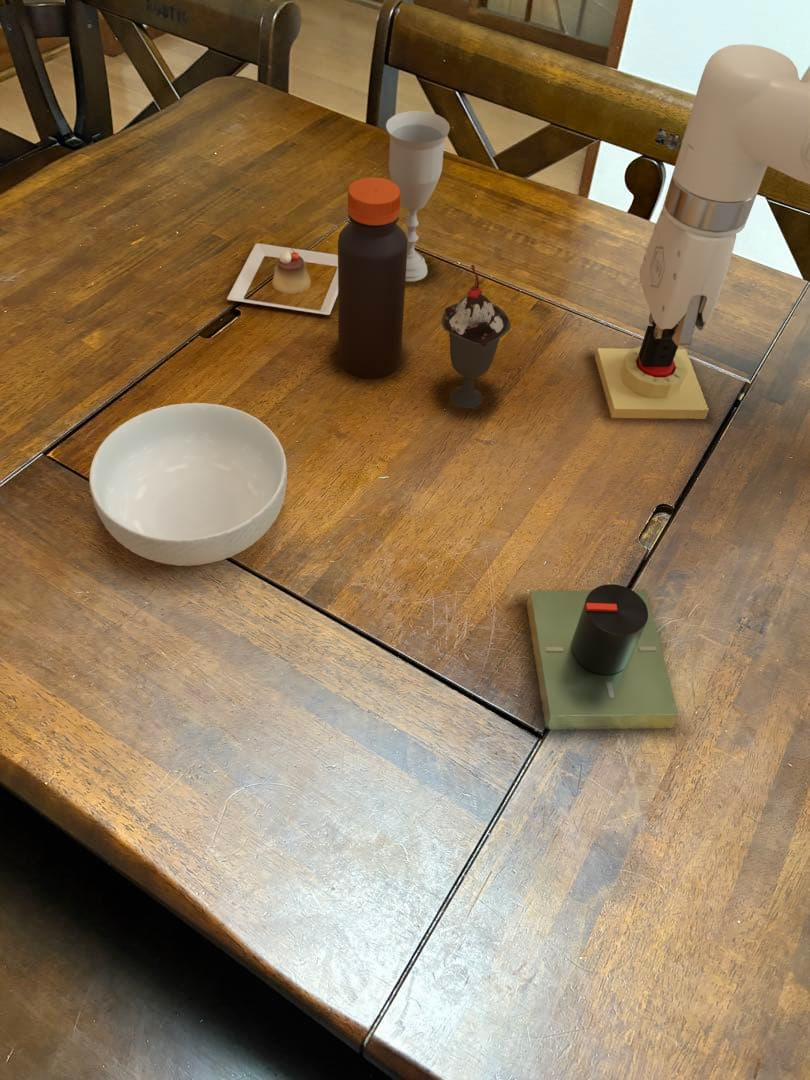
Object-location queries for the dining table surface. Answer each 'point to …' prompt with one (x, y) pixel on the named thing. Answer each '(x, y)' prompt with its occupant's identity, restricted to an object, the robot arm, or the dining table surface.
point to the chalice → (416, 170)
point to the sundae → (473, 340)
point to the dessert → (286, 275)
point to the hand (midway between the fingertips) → (654, 361)
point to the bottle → (371, 280)
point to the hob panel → (591, 696)
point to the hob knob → (609, 629)
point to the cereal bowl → (189, 483)
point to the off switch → (649, 387)
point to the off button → (656, 370)
